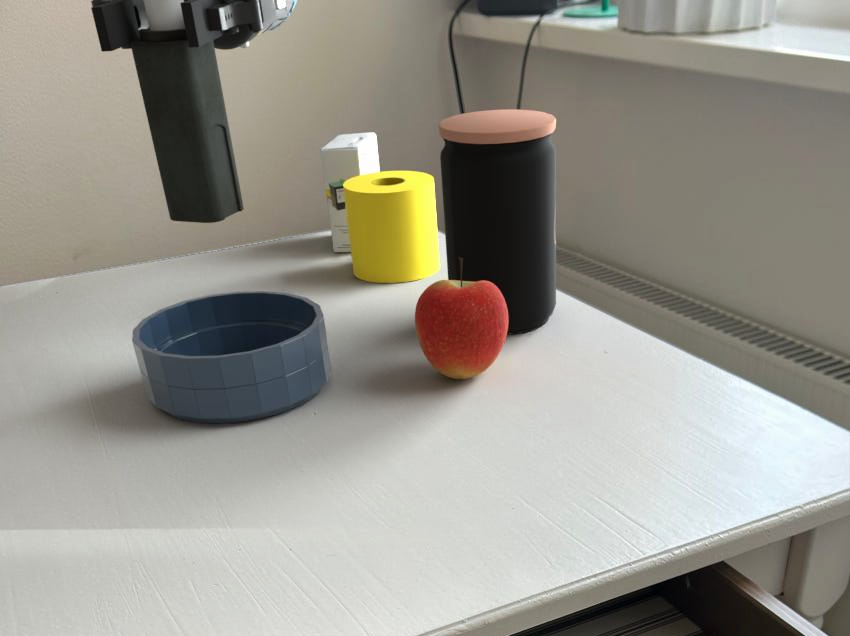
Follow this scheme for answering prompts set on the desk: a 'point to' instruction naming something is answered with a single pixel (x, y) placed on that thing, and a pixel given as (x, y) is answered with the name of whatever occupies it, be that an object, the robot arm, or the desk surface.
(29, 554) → the desk surface
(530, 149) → the coffee jar
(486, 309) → the apple
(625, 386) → the desk surface
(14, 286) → the desk surface
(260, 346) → the bowl
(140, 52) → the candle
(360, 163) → the ink box
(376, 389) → the desk surface
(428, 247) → the yellow toilet paper roll
